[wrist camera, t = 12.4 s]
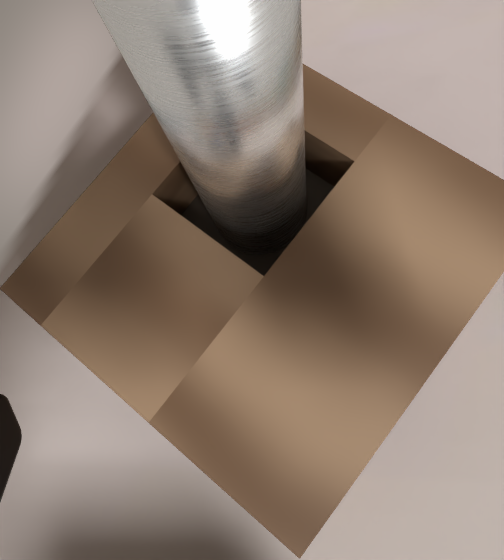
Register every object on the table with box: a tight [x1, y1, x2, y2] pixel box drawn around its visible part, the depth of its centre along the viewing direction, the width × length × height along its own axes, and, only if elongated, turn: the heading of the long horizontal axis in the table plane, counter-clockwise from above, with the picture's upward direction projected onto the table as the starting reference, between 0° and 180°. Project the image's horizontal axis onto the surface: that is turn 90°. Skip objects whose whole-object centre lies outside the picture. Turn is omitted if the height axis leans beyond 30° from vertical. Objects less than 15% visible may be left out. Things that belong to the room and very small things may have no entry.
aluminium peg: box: [92, 0, 307, 255], centre depth 14 cm, size 4×4×13 cm
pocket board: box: [0, 64, 504, 559], centre depth 18 cm, size 14×14×4 cm
